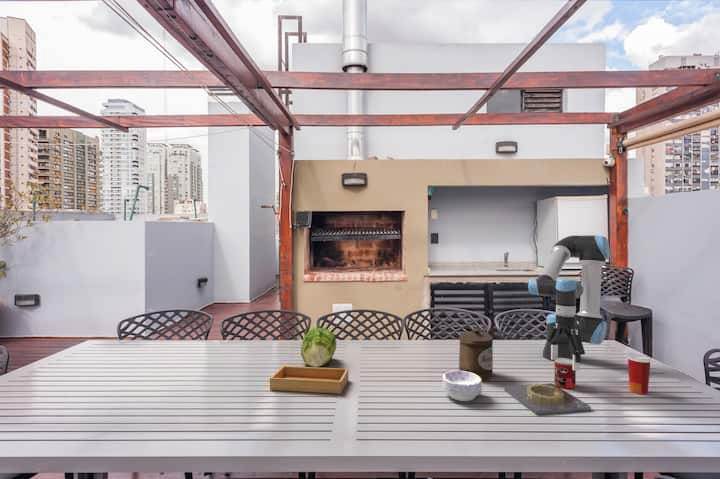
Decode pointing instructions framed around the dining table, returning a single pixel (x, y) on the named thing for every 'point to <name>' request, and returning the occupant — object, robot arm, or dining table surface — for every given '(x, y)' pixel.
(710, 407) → the dining table surface
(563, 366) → the canned food
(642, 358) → the coffee cup
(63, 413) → the dining table surface
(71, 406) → the dining table surface
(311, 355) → the lettuce
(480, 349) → the wooden container
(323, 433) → the dining table surface
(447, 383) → the paper bowls
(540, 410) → the collar plate
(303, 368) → the tray
